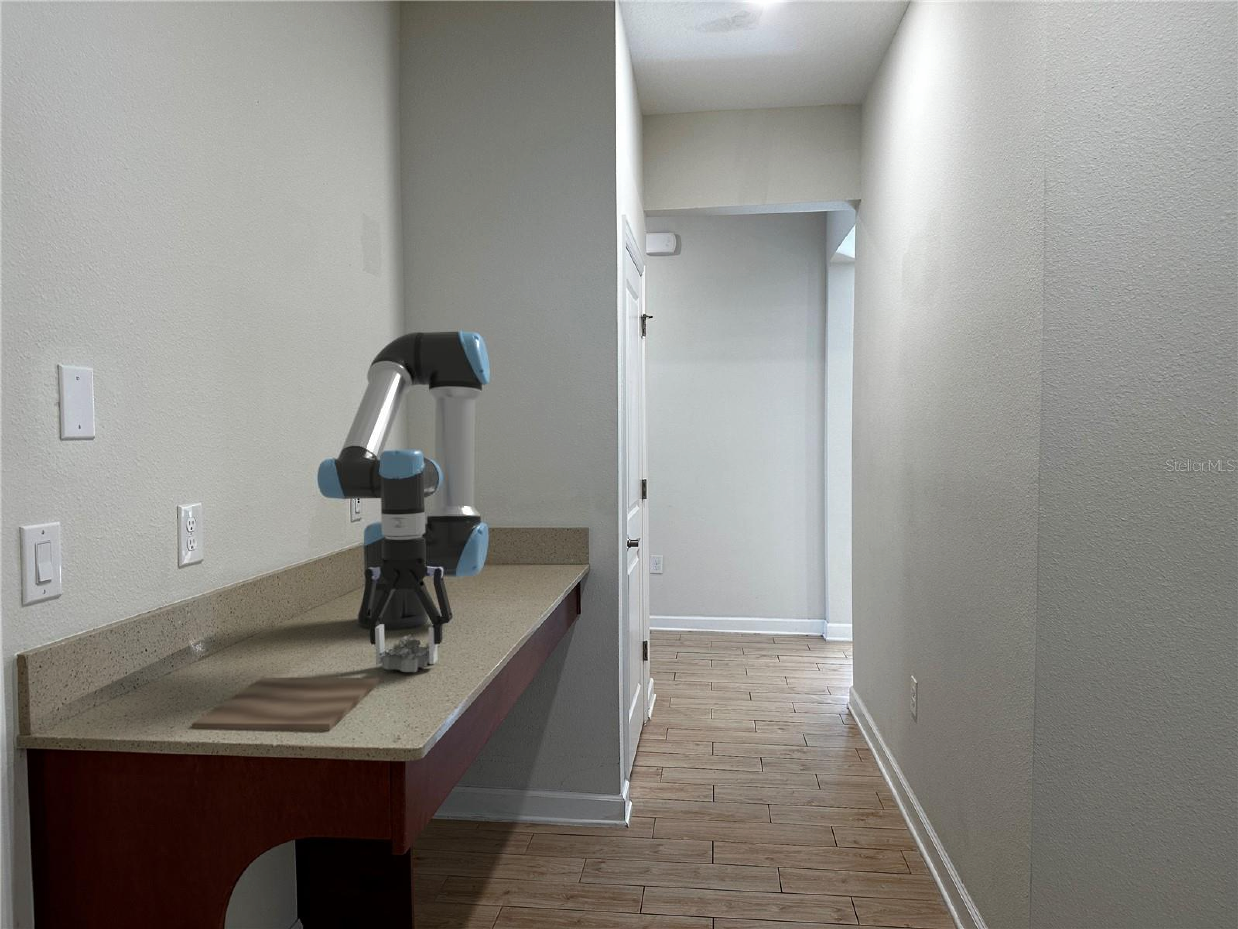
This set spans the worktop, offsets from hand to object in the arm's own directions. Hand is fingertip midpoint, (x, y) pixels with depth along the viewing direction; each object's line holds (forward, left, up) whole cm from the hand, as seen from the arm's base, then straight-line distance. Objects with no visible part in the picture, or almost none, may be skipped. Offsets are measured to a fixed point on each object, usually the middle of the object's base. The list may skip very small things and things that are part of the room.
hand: (407, 661), depth 152 cm
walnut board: (+20, -12, -1) cm, 24 cm away
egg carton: (0, -2, -2) cm, 3 cm away
